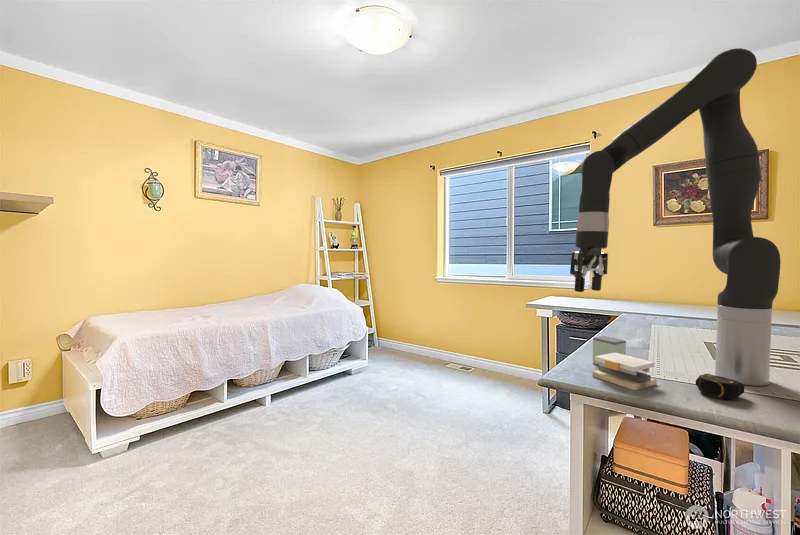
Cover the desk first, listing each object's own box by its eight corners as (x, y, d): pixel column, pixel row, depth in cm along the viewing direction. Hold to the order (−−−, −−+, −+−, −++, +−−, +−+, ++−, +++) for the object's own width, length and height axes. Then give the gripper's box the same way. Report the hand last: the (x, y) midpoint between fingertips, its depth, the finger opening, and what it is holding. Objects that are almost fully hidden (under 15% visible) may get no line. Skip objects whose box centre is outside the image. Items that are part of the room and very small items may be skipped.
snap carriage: (614, 360, 90) (615, 352, 90) (654, 371, 82) (654, 362, 82) (592, 365, 87) (592, 356, 87) (631, 377, 78) (631, 367, 78)
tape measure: (746, 398, 74) (746, 380, 74) (731, 405, 71) (731, 386, 71) (705, 387, 80) (706, 371, 80) (689, 393, 77) (690, 376, 77)
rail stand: (613, 371, 91) (613, 361, 91) (656, 384, 82) (656, 373, 82) (592, 376, 87) (592, 366, 87) (634, 390, 78) (634, 379, 78)
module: (603, 360, 100) (604, 335, 100) (625, 367, 95) (625, 340, 94) (592, 363, 98) (593, 337, 98) (614, 369, 92) (614, 342, 92)
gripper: (592, 228, 88) (587, 294, 90) (620, 231, 97) (615, 291, 98) (563, 229, 95) (559, 290, 96) (592, 231, 103) (588, 288, 104)
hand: (587, 291), depth 97 cm, fingers open, 8 cm apart
